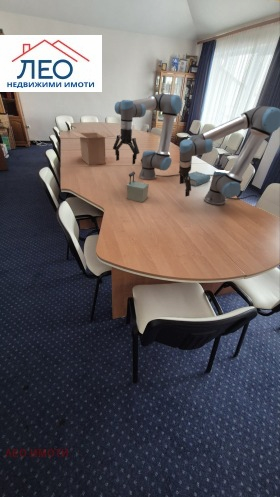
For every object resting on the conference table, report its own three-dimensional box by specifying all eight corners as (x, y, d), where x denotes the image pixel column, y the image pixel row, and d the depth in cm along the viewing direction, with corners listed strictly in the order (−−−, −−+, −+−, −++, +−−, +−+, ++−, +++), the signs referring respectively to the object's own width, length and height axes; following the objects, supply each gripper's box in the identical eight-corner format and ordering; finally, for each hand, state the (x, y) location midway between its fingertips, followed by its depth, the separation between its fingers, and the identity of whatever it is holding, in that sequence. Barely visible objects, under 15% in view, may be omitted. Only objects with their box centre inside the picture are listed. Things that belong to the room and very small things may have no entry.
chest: (126, 198, 164) (127, 186, 159) (132, 194, 172) (132, 182, 166) (142, 202, 161) (143, 189, 155) (147, 197, 168) (148, 185, 163)
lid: (126, 186, 159) (126, 174, 154) (131, 181, 166) (132, 170, 161) (143, 189, 155) (144, 177, 150) (148, 185, 163) (149, 173, 158)
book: (195, 176, 216) (196, 171, 213) (209, 181, 207) (210, 176, 204) (181, 181, 202) (182, 175, 199) (195, 186, 194) (197, 180, 191)
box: (116, 165, 229) (116, 136, 213) (83, 168, 214) (80, 137, 198) (102, 154, 259) (101, 128, 243) (71, 156, 244) (68, 129, 228)
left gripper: (107, 126, 146) (108, 159, 158) (140, 131, 137) (138, 166, 149) (114, 125, 151) (114, 157, 164) (145, 130, 142) (143, 164, 154)
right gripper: (174, 154, 148) (174, 179, 166) (185, 178, 135) (184, 202, 152) (185, 152, 148) (184, 177, 166) (197, 175, 135) (195, 200, 152)
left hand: (125, 162), depth 156 cm, fingers open, 13 cm apart
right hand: (184, 189), depth 159 cm, fingers open, 13 cm apart
